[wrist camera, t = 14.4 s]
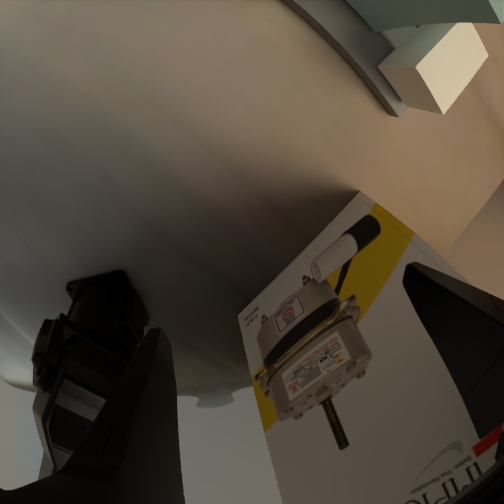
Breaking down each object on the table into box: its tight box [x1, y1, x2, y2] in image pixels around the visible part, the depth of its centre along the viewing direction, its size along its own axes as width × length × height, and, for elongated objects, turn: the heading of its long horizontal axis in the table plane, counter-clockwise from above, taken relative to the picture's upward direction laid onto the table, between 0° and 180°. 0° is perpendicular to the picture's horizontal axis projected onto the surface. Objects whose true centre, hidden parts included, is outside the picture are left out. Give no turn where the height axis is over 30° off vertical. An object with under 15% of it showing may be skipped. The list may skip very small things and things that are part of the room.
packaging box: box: [238, 192, 504, 504], centre depth 18 cm, size 16×16×25 cm
